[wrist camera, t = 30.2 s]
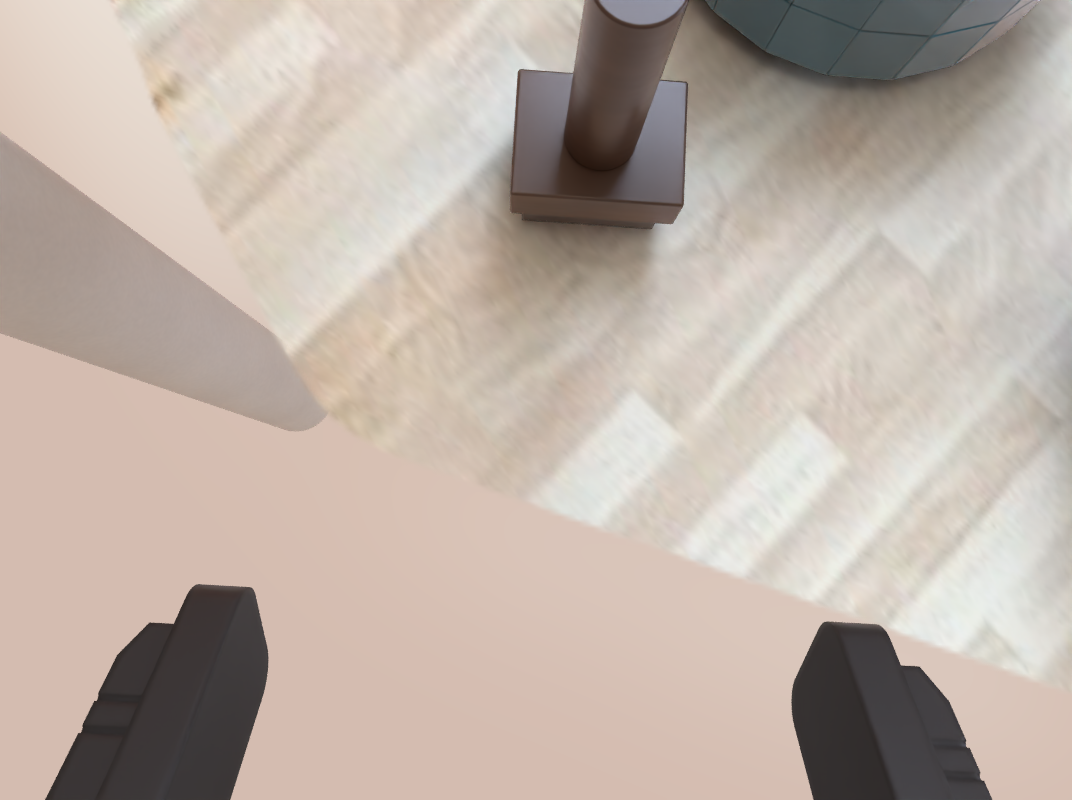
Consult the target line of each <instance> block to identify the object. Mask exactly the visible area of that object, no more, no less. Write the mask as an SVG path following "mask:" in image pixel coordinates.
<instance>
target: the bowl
mask: <svg viewBox="0 0 1072 800" xmlns="http://www.w3.org/2000/svg"><path fill="white" fill-rule="evenodd" d="M705 1H706V3H707V4H708V5H709V7H710V8H711V10H714V13H716V14H717V15H718V16H720V17H721V18H722V19H723V20H725V21H726V22H727V23H729V24H730V25H731V26H732V27H734V28H735V29H736V30H738V31H739V32H740V33H741V34H743V35H744V36H745V37H747V38H748V39H749V40H750V41H752V42H753V43H754V44H756V45H757V46H758V47H759V48H761V49H762V50H765V52H767V53H769V54H772V55H775V56H777V57H780V58H782V59H785V60H787V61H790V62H793V63H795V64H798V65H800V66H803V67H805V68H808V69H811V70H813V71H816V72H818V73H821V74H823V75H826V74H827V75H829V76H841V77H854V78H867V79H880V80H891V79H892V80H894V79H899V78H903V77H907V76H912V75H916V74H920V73H925V72H929V71H933V70H938V69H942V68H946V67H951V66H952V65H956V64H957V63H959V62H961V61H962V60H964V59H966V58H967V57H969V56H970V55H972V54H974V53H975V52H977V51H979V50H980V49H982V48H983V47H985V46H987V45H988V44H990V43H992V42H993V41H995V40H996V39H998V38H1000V37H1001V36H1003V35H1004V34H1005V33H1007V32H1008V31H1009V30H1010V29H1011V28H1012V27H1013V26H1014V25H1015V24H1016V23H1017V22H1018V21H1019V20H1020V19H1021V18H1022V17H1024V16H1025V15H1026V14H1027V13H1028V12H1029V11H1030V10H1031V9H1032V8H1033V7H1034V6H1035V5H1036V4H1037V3H1038V2H1039V1H1041V0H705Z"/></svg>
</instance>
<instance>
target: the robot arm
mask: <svg viewBox="0 0 1072 800" xmlns="http://www.w3.org/2000/svg"><path fill="white" fill-rule="evenodd" d="M267 672H268V649H267V644H266V640H265V636H264V631H263V627H262V622H261V618H260V613H259V609H258V604H257V600H256V595H255V592H254V590H253V589H252V588H250V587H236V586H219V585H201V584H198V585H195V586H194V587H192V589H191V590H190V591H189V593H188V594H187V596H186V599H185V600H184V603H183V605H182V607H181V609H180V611H179V614H178V616H177V618H176V620H175V623H174V624H165V623H149V624H148V625H147V626H146V627H145V628H144V629H143V630H142V631H141V632H140V633H139V634H138V635H137V636H136V637H135V638H134V639H133V640H132V641H131V642H130V643H129V644H128V645H127V646H126V647H125V648H124V649H123V650H122V651H121V652H120V653H119V654H118V655H117V657H116V659H115V661H114V663H113V665H112V667H111V669H110V671H109V673H108V675H107V677H106V679H105V681H104V683H103V685H102V687H101V689H100V691H99V693H98V695H99V696H98V700H97V701H94V703H93V705H92V707H91V709H90V711H89V713H88V715H87V717H86V719H85V721H84V723H83V729H82V732H81V733H78V735H77V737H76V739H75V741H74V743H73V745H72V747H71V749H70V751H69V754H68V755H67V757H66V759H65V761H64V763H63V765H62V767H61V769H60V771H59V773H58V775H57V777H56V780H55V781H54V783H53V785H52V787H51V789H50V791H49V793H48V795H47V797H46V799H45V800H230V799H231V795H232V792H233V789H234V786H235V783H236V780H237V776H238V773H239V770H240V767H241V764H242V761H243V757H244V754H245V751H246V748H247V744H248V742H249V738H250V735H251V732H252V729H253V726H254V722H255V719H256V716H257V713H258V709H259V706H260V703H261V700H262V697H263V694H264V690H265V685H266V680H267ZM792 715H793V722H794V727H795V730H796V734H797V738H798V741H799V746H800V750H801V753H802V757H803V761H804V765H805V768H806V772H807V776H808V780H809V784H810V788H811V791H812V795H813V799H814V800H992V798H991V796H990V793H989V791H988V789H987V787H986V784H985V782H984V781H981V779H980V771H979V768H978V766H977V764H976V762H975V759H974V757H973V755H972V752H971V750H970V748H967V747H966V739H965V737H964V734H963V732H962V730H961V728H960V725H959V723H958V721H957V718H956V716H955V714H954V712H953V709H952V707H951V705H950V702H949V701H948V700H947V698H946V697H945V696H944V695H943V694H942V693H941V692H940V690H939V689H938V688H937V687H936V685H935V684H934V683H933V682H932V681H931V680H930V678H929V677H928V676H927V675H926V674H925V673H924V671H923V670H922V669H921V668H920V667H917V666H916V667H915V666H901V665H900V662H899V660H898V658H897V655H896V653H895V650H894V647H893V645H892V642H891V640H890V638H889V636H888V634H887V632H886V631H885V630H884V629H883V627H881V626H880V625H877V624H861V623H842V622H824V623H823V624H822V625H821V626H820V628H819V629H818V632H817V634H816V636H815V638H814V640H813V642H812V644H811V646H810V648H809V651H808V653H807V655H806V657H805V659H804V661H803V664H802V666H801V668H800V670H799V672H798V674H797V676H796V678H795V681H794V684H793V690H792Z"/></svg>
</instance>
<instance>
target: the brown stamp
mask: <svg viewBox="0 0 1072 800" xmlns="http://www.w3.org/2000/svg"><path fill="white" fill-rule="evenodd" d="M688 2H689V0H585V2H584V8H583V14H582V21H581V27H580V34H579V40H578V46H577V53H576V59H575V66H574V72H573V73H563V72H550V71H537V70H524V69H520V70H519V71H518V79H517V94H516V109H515V124H514V139H513V154H512V169H511V184H510V212H511V213H520V214H522V220H529V221H544V222H558V223H572V224H586V225H601V226H615V227H629V228H643V229H652V227H653V225H654V223H662V224H673V222H674V221H675V219H676V217H677V216H678V214H679V212H680V211H681V209H682V207H683V205H684V182H685V154H686V126H687V98H688V84H687V82H682V81H669V80H660V79H661V76H662V73H663V71H664V68H665V65H666V62H667V59H668V57H669V54H670V51H671V48H672V46H673V43H674V40H675V37H676V35H677V32H678V29H679V26H680V24H681V21H682V18H683V15H684V13H685V10H686V7H687V4H688Z"/></svg>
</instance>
